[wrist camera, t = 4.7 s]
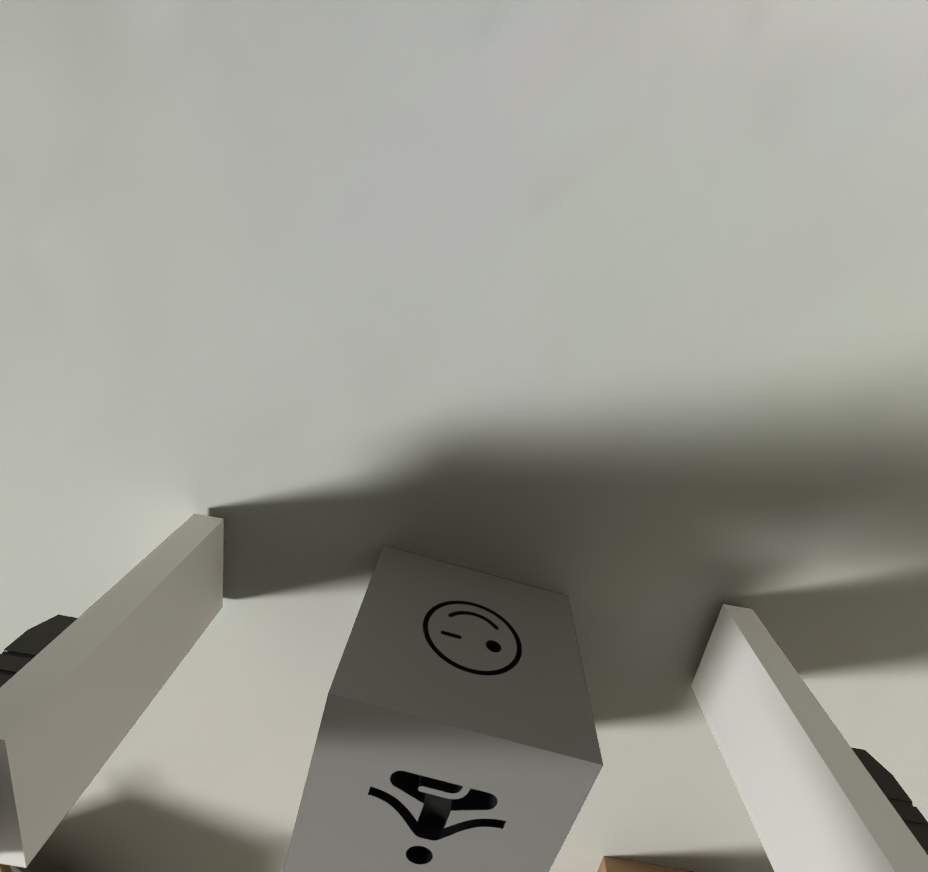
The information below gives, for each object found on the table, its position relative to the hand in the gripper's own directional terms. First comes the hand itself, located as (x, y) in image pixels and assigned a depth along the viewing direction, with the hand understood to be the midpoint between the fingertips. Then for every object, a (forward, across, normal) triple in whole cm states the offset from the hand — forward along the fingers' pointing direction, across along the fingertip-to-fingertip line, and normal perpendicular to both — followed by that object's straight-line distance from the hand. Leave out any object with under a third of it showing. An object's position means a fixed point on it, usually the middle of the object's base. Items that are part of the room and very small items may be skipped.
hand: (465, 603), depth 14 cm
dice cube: (0, 0, -2) cm, 2 cm away
